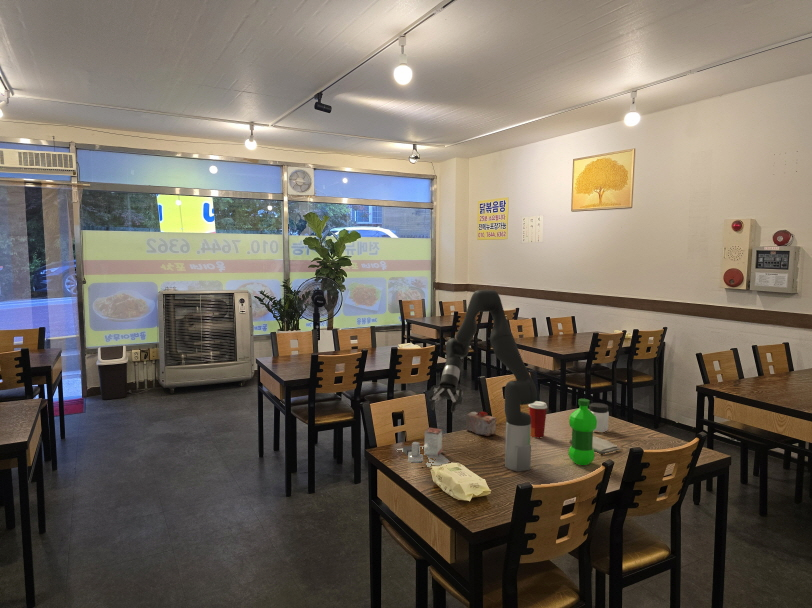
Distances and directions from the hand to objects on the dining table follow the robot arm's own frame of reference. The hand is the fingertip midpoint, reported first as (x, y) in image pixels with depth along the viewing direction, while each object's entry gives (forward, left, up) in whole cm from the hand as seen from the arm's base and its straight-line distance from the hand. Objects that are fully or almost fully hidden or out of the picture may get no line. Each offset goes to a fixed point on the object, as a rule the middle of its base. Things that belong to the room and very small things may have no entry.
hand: (442, 410), depth 224 cm
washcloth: (-20, -62, -16) cm, 67 cm away
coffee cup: (-1, -46, -15) cm, 48 cm away
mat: (-11, +12, -15) cm, 22 cm away
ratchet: (-11, +17, -15) cm, 25 cm away
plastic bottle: (-34, -45, -15) cm, 58 cm away
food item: (+10, -24, -15) cm, 30 cm away
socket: (-9, +7, -15) cm, 19 cm away
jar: (-2, -78, -15) cm, 79 cm away
